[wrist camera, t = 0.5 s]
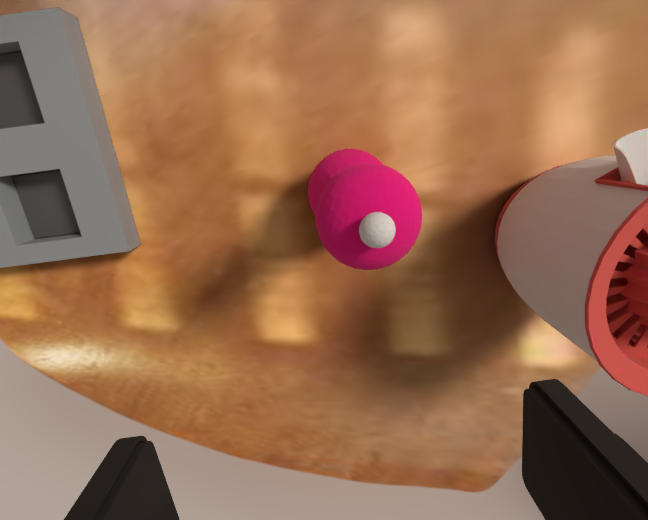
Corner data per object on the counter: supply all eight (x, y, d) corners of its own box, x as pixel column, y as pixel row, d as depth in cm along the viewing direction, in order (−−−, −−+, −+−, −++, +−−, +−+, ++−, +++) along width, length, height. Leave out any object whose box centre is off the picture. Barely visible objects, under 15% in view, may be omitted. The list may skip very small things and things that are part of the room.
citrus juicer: (618, 107, 35) (978, 65, 16) (632, 274, 40) (919, 393, 21) (455, 161, 36) (612, 181, 17) (488, 317, 41) (637, 467, 22)
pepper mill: (314, 228, 38) (315, 314, 19) (303, 154, 36) (290, 167, 17) (386, 218, 38) (460, 294, 19) (379, 143, 36) (454, 142, 17)
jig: (-85, 39, 32) (-120, 30, 30) (77, 17, 32) (56, 6, 29) (3, 262, 38) (-19, 270, 36) (140, 244, 38) (128, 251, 35)
